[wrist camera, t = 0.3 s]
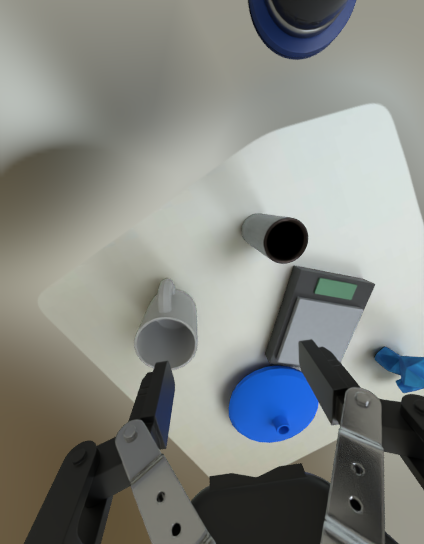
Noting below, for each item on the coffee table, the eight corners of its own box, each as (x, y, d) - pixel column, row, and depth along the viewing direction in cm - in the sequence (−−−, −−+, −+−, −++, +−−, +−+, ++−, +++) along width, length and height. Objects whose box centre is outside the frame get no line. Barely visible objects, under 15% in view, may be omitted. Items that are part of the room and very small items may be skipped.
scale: (293, 265, 33) (304, 271, 30) (363, 278, 35) (379, 286, 32) (265, 353, 37) (271, 366, 34) (328, 362, 39) (339, 375, 36)
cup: (152, 331, 34) (138, 373, 26) (144, 271, 32) (125, 295, 23) (198, 328, 35) (199, 367, 26) (194, 268, 32) (194, 291, 24)
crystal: (437, 416, 35) (403, 407, 30) (385, 373, 43) (351, 361, 38) (471, 382, 34) (442, 368, 29) (411, 344, 41) (379, 327, 36)
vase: (260, 341, 37) (275, 372, 30) (327, 378, 40) (354, 413, 34) (209, 406, 40) (212, 446, 33) (275, 435, 43) (290, 477, 37)
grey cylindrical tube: (247, 250, 32) (271, 270, 22) (236, 221, 30) (257, 228, 21) (276, 238, 32) (313, 253, 22) (267, 208, 30) (302, 209, 20)
